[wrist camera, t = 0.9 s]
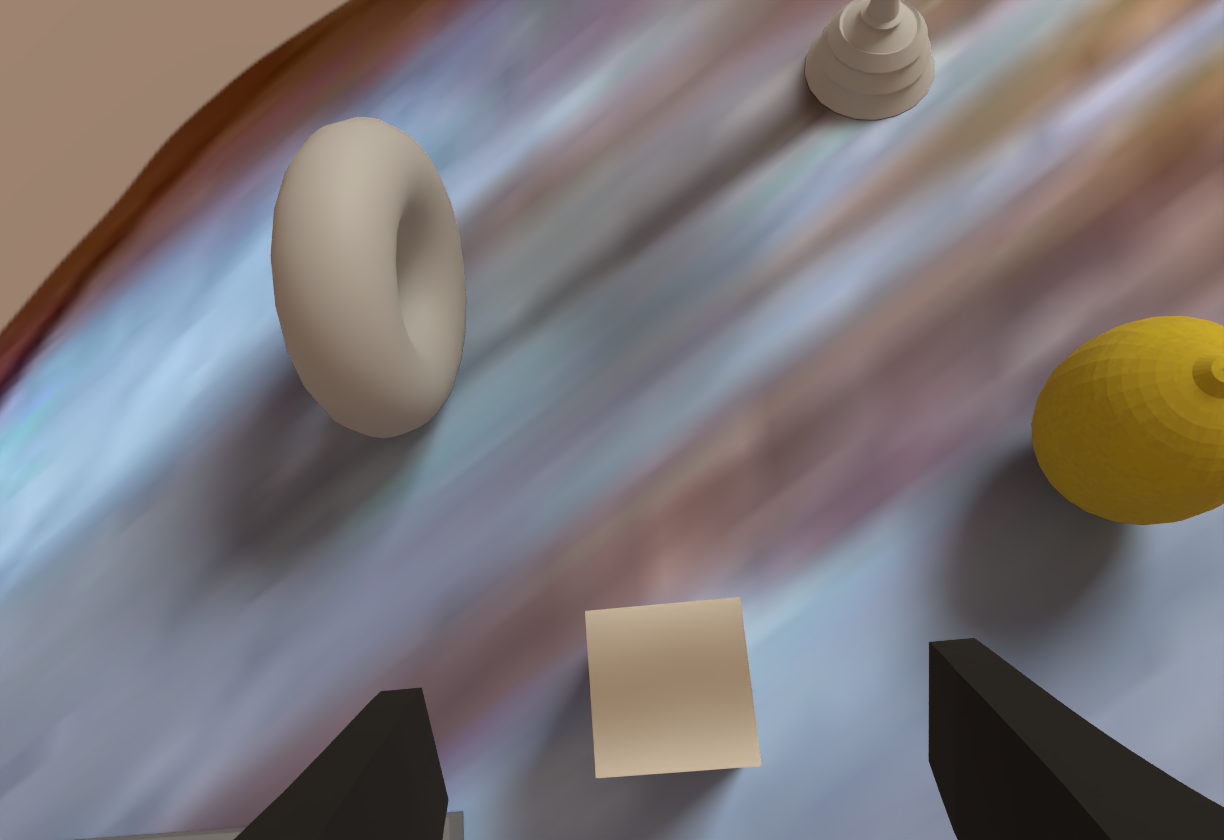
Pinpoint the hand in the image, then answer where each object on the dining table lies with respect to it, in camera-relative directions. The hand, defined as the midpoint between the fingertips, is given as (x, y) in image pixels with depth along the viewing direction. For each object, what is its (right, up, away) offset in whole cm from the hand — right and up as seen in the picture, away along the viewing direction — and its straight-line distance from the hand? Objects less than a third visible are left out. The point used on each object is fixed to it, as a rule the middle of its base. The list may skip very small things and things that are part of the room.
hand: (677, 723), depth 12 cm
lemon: (+15, +3, +16) cm, 22 cm away
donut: (-8, +7, +20) cm, 22 cm away
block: (+1, -4, +15) cm, 15 cm away
